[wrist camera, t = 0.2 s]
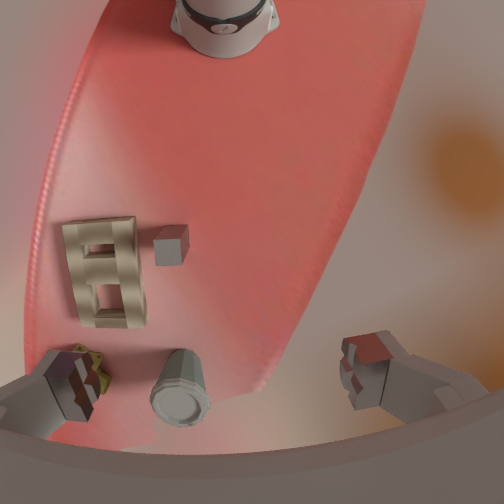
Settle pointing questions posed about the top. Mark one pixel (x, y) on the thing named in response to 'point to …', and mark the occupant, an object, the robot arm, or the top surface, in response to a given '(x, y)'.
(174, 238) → the square bit
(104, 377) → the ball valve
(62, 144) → the top surface
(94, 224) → the tan flat slatted block
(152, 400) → the disposable coffee cup
